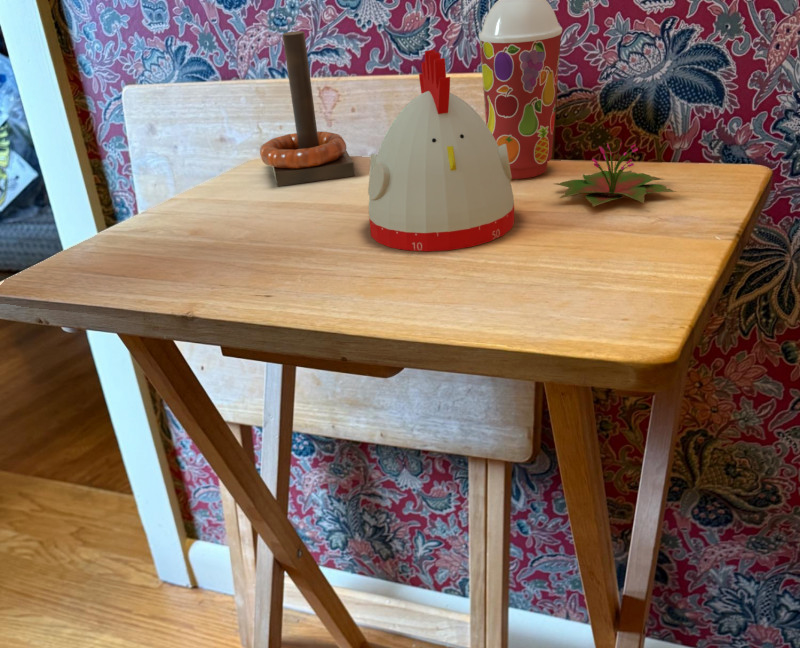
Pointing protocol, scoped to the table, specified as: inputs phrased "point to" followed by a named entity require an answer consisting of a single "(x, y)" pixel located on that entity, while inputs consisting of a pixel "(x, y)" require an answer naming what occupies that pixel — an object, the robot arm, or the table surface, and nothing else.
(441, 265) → the table surface
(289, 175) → the peg stand
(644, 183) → the lily flower
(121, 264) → the table surface
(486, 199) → the kitchen timer
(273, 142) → the ring
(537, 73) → the smoothie
